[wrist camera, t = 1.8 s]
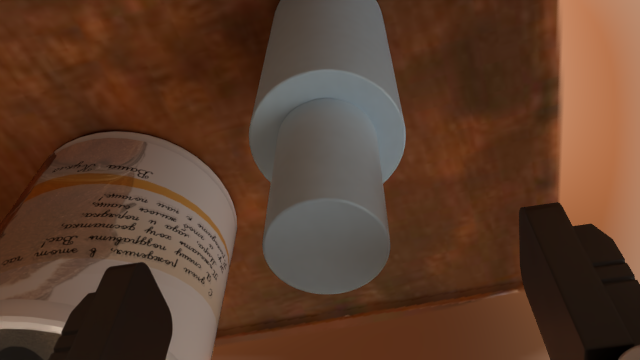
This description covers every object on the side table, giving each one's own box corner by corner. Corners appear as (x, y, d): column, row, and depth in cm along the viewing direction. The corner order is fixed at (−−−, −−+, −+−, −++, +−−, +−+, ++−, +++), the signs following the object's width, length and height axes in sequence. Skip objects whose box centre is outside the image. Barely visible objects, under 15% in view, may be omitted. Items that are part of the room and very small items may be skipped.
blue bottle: (260, -14, 23) (198, 185, 12) (375, -37, 22) (416, 150, 11) (286, 88, 25) (254, 329, 14) (390, 70, 25) (436, 306, 14)
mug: (272, 271, 31) (249, 479, 22) (76, 319, 34) (-18, 525, 25) (182, 102, 26) (100, 290, 17) (-47, 175, 28) (-227, 373, 19)
